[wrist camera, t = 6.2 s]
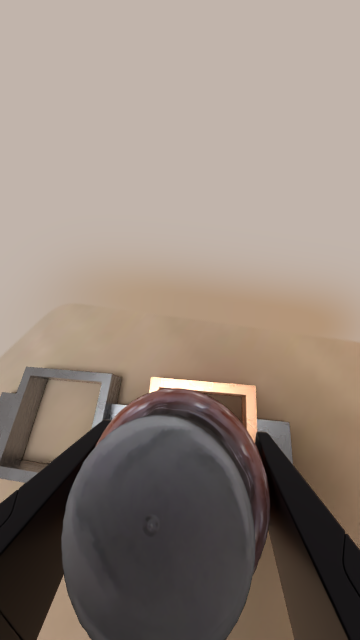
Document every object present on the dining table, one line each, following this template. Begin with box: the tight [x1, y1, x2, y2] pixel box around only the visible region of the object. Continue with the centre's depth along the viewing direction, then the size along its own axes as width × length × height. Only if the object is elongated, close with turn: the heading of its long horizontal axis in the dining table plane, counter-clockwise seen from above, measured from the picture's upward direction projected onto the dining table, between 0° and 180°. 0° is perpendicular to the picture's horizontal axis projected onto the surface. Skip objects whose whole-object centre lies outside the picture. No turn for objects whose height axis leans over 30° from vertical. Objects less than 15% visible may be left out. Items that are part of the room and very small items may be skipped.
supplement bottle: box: [61, 388, 270, 640], centre depth 9 cm, size 6×6×11 cm
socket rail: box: [0, 367, 293, 483], centre depth 19 cm, size 28×9×2 cm, turn 85°
